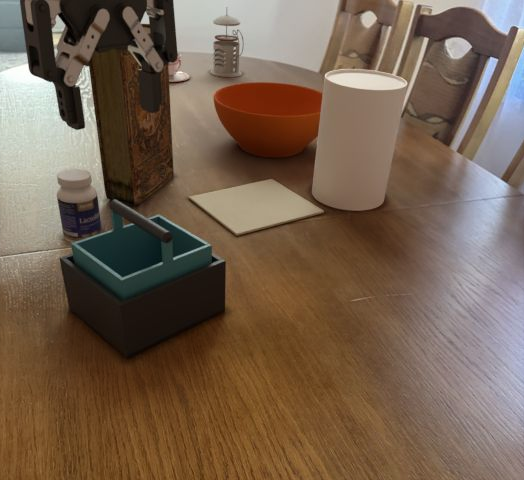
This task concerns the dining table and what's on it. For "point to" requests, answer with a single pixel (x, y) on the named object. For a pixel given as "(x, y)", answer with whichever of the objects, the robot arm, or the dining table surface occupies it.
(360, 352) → the dining table surface
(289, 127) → the bowl
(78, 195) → the pill bottle
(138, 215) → the teal bin
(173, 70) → the teacup
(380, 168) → the canister
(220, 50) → the french press
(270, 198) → the cream mat
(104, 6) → the robot arm
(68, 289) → the charcoal bin
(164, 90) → the book
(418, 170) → the dining table surface
